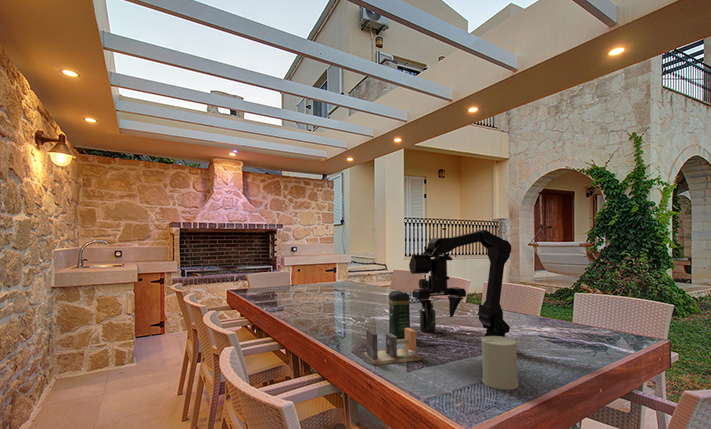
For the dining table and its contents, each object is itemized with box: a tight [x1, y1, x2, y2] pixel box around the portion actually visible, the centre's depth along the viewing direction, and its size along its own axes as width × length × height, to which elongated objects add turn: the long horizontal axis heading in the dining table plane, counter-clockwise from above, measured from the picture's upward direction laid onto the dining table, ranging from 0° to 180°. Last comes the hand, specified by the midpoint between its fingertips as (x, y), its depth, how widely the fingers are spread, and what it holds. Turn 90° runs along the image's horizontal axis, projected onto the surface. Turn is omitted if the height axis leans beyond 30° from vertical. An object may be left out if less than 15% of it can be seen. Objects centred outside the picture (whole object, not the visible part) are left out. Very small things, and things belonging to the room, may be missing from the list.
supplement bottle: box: [419, 302, 437, 333], centre depth 155 cm, size 7×7×12 cm
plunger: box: [388, 327, 417, 355], centre depth 119 cm, size 9×8×8 cm
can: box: [480, 336, 520, 391], centre depth 97 cm, size 9×9×12 cm
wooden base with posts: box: [363, 328, 422, 366], centre depth 119 cm, size 16×10×9 cm, turn 105°
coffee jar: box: [388, 290, 411, 340], centre depth 146 cm, size 10×8×19 cm
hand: (439, 317), depth 124 cm, fingers open, 9 cm apart
